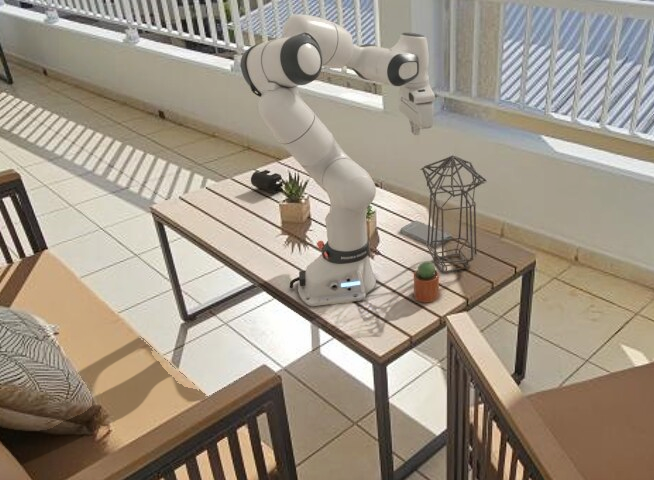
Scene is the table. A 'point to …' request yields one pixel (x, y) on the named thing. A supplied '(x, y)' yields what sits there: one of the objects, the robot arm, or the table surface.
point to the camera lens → (267, 181)
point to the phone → (423, 233)
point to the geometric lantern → (474, 174)
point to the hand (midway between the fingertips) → (415, 133)
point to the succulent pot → (426, 283)
